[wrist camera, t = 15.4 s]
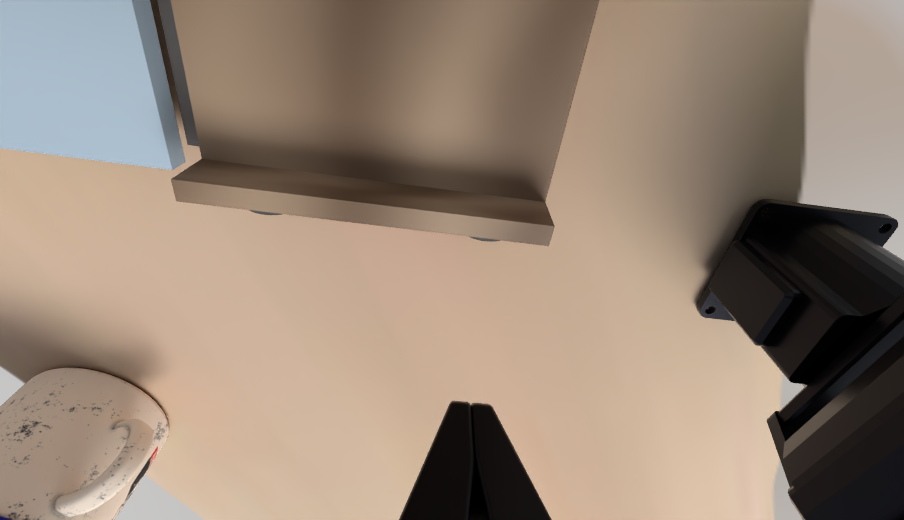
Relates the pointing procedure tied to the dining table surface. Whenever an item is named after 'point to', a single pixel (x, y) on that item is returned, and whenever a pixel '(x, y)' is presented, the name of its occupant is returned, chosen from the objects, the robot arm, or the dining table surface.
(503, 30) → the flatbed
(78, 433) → the teacup with lid
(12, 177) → the dining table surface
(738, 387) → the dining table surface
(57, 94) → the tailgate
